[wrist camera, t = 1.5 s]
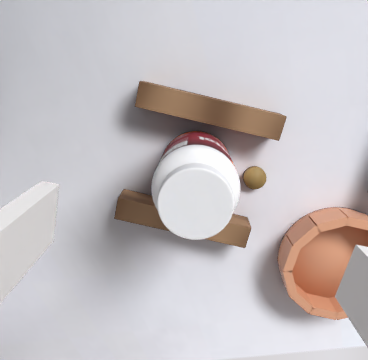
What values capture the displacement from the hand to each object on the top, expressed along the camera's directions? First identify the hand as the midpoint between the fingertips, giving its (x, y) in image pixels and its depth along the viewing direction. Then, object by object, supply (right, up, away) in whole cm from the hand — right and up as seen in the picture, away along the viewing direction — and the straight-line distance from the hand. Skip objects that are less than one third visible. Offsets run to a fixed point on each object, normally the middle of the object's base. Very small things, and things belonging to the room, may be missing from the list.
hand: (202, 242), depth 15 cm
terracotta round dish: (+14, -5, +18) cm, 23 cm away
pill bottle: (0, +4, +16) cm, 17 cm away
